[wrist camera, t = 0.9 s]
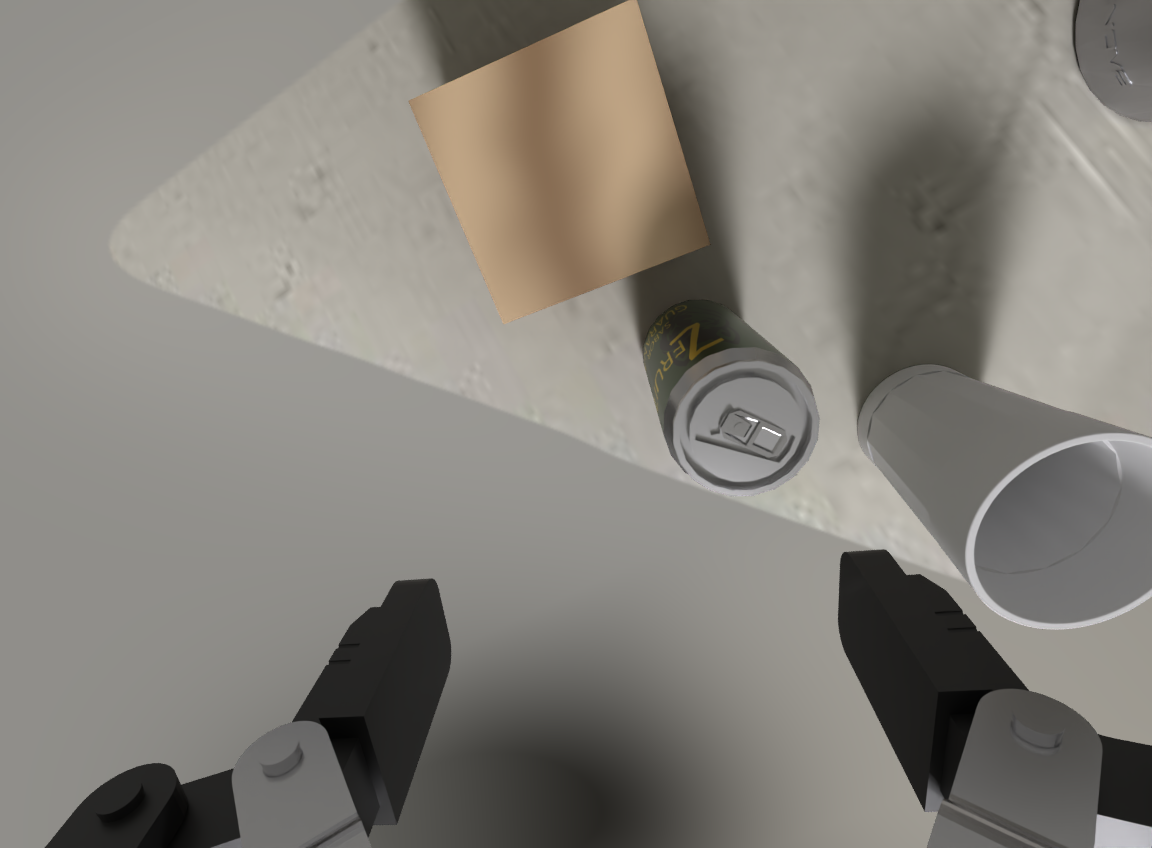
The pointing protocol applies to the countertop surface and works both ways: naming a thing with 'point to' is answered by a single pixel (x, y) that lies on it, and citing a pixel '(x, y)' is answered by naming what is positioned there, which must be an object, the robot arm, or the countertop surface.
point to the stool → (564, 163)
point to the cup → (1018, 494)
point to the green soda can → (728, 400)
